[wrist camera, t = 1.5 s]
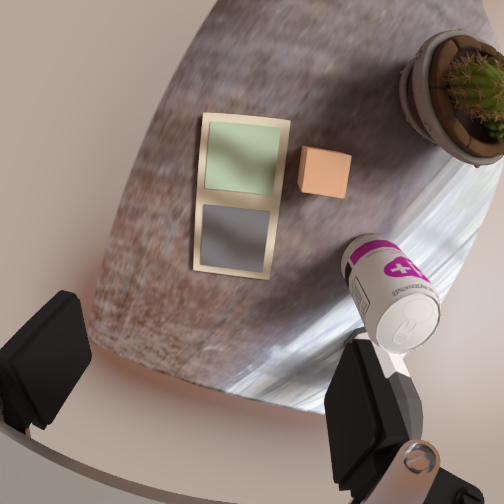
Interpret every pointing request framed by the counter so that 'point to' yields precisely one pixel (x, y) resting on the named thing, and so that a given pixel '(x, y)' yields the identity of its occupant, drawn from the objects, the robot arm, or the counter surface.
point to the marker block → (323, 172)
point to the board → (239, 193)
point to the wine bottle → (398, 385)
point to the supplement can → (390, 294)
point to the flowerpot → (457, 96)
